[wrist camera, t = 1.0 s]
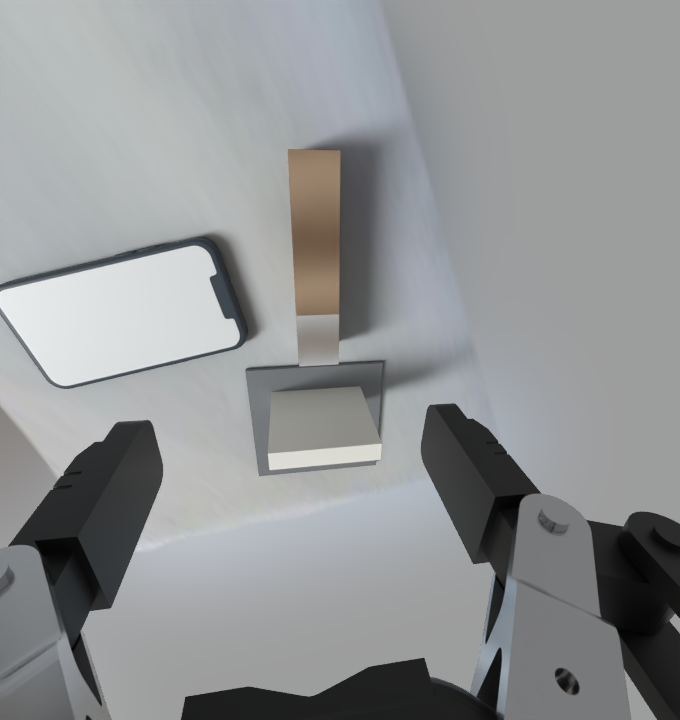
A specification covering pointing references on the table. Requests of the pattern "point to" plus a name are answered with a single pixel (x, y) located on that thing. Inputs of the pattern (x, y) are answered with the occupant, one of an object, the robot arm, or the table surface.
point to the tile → (321, 428)
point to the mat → (306, 379)
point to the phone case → (125, 313)
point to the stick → (316, 252)
